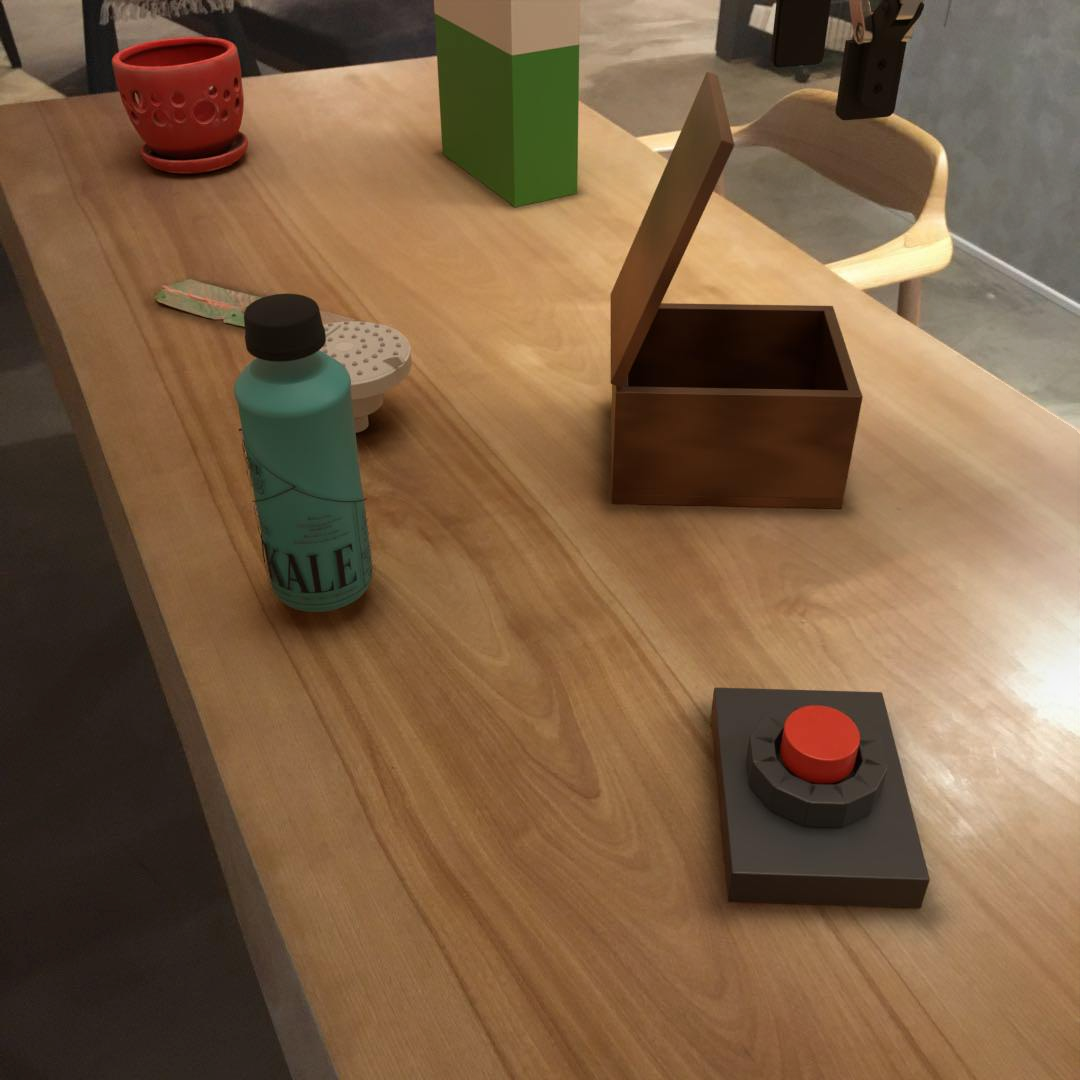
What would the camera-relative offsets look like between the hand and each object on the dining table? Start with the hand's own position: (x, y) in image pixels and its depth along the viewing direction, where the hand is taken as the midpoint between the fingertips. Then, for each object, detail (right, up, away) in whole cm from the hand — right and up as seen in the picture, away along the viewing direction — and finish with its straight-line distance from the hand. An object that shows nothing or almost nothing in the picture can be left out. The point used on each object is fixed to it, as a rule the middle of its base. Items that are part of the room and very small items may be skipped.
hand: (828, 89), depth 67 cm
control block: (-3, -39, -7) cm, 40 cm away
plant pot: (-55, +17, +65) cm, 87 cm away
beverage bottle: (-30, -30, +5) cm, 42 cm away
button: (-3, -36, -10) cm, 38 cm away
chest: (-4, -20, +18) cm, 27 cm away
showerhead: (-30, -17, +21) cm, 41 cm away
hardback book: (-20, +14, +61) cm, 66 cm away
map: (-41, -6, +36) cm, 55 cm away
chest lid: (-8, -6, +7) cm, 13 cm away
